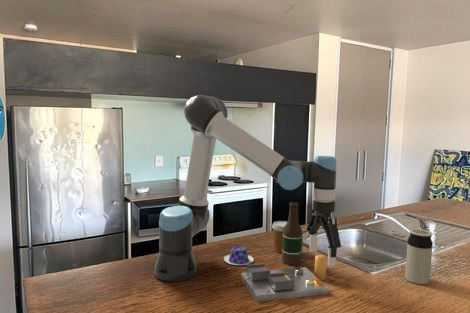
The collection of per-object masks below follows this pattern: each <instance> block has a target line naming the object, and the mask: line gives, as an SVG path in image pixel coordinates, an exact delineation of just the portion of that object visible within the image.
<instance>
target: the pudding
mask: <svg viewBox="0 0 470 313" xmlns="http://www.w3.org/2000/svg"><path fill="white" fill-rule="evenodd" d="M223 261H224V262H226V263H227V264H229V265H234V266H247V265H251V264H252V263H253V262H254V261H255V260H254V257H253V256H251V255H249V254H248V250H247V248H246V247H244V246H241V245H238V246H237V245H236V246H233V247H231V249H230V253H229V254H227V255H225V256H224V257H223Z"/></svg>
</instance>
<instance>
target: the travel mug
mask: <svg viewBox="0 0 470 313" xmlns="http://www.w3.org/2000/svg"><path fill="white" fill-rule="evenodd" d="M433 234H434V233H433V232H432V231H430V230H427V229H422V228H410V229H409V237H408V238H407V244H406V245H407V246H406V257H405V270H404V271H405V272H404V279H405V280H406V281H408V282H410V283H412V284H416V285H428V284H429V283H430V277H431V268H432V267H431V266H432V258H433V257H432V255H433V245H434V244H433V243H434V242H433V241H432V236H434V235H433Z"/></svg>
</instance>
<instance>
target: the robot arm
mask: <svg viewBox="0 0 470 313" xmlns="http://www.w3.org/2000/svg"><path fill="white" fill-rule="evenodd" d="M183 111H184V112H183V114H184V118H185V119H186V121H187V123H188V124H189V125H190V126H191V127H190V131H191V132H192V133H193V137H192V138H193V139H192V144H191V148H190V149H191V150H190V155H189V156H190V157H189V163H188V167H187V175H186V180H185V187H184V193H183V195H182V196H180V197H179V200H178V203H177V204H178V205H173V206H168V207H166V208H164V209H162V210H161V212H160V214H159V220H158V227H159V228H158V229H159V231H158V232H159V235H158V237H159V238H158V239H159V242H158V246H159V248H158V249H159V252H158V255H157V259H156V261H155V265H154V268H153V274H154V275H153V276H154V277H155V278H157V279H158V280H161V281H165V282H182V281H186V280H189V279H192V278H194V277H195V276H196V274H197V264H196V260H195V258H194V254H193V237H194V236H195V235H196V234H199V233H200V232H201V231H202V230H204V229H205V228H206V226H207V225H208V223H209V221H210V217H211V212H210V210H209V204H210V203H209V200H208V199H207V194H208V193H207V192H208V189H209V188H208V187H209V183H210V181H209V180H210V175H211V169H212V165H213V164H212V163H213V157H214V153H215V148H216V140H218V141H219V142H220V143H222V144H224V145H225V146H227V147H228V148H229V149H231V150H232V151H234V152H235V153H236V154H238V155H239V156H241V157H242V158H243V159H246V160H247V161H248V162H250V163H251V164H252V165H253V166H255V167H257V168H259V170H262V171H263V172H265V173H266V174H267V175H268V176H271V178H273V179H274V180H276V181H277V182H278V185H279V186H280V187H281V188H282V189H284V190H287V191H292V190H295V189H297V188H299V187H300V186H302V184H303V183H311V184H312V183H313V187H312V188H313V189H312V190H313V193H312V199H313V201H312V208H311V212H310V217H309V220H308V223H307V227H306V231H307V232H308V234H309V249H308V250H309V253H315V252H316V253H317V252H318V230H319V229H320V228H321V227H322V229H323V230H324V233H325V235H326V239H327V242H328V245H329V246H327V267H336V266H337V251H338V248H340V249H341V247H342V243H341V239H340V232H339V229H338V219H337V217H332V214H333V213H334V212H335V211H336V210H335V209H336V208H335V207H336V201H335V200H336V182H337V159H336V157H334V156H331V155H317V156H314V160H311V161H308V160H307V161H305V160H293V159H292V160H291V159H287V158H285V157H284V156H283V155H281V154H280V153H278V151H276V150H274V149H272V148H271V147H270V146H268V145H266V144H265V143H264V142H262V141H261V140H259V139H257V138H256V137H254V136H253V135H251V134H250V133H248V132H247V131H246V130H244V129H243V128H241V127H240V126H238V125H237V124H235V123H234V122H232V121H231V120H229V119H228V116H229V112H228V107H227V106H226V104H225V102H224V101H223V100H221V99H220V98H218V97H215V96H211V95H205V94H198V95H195V96H192V97H190V98H189V99H188V100H187V101H186V104H185V106H184V110H183Z"/></svg>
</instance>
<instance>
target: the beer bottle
mask: <svg viewBox="0 0 470 313" xmlns="http://www.w3.org/2000/svg"><path fill="white" fill-rule="evenodd" d="M299 206H300V205H299V203H298V202H295V201H292V202H289V211H288V219H287V222H288V223H287V224H286V225H285V227H284V229H283V242H282V253H281V261H282V262H283V264H284V265H288V266H298V265H299V264H301V263H302V256H303V254H302V253H303V230H302V227H301V225H300V224H299Z"/></svg>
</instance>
